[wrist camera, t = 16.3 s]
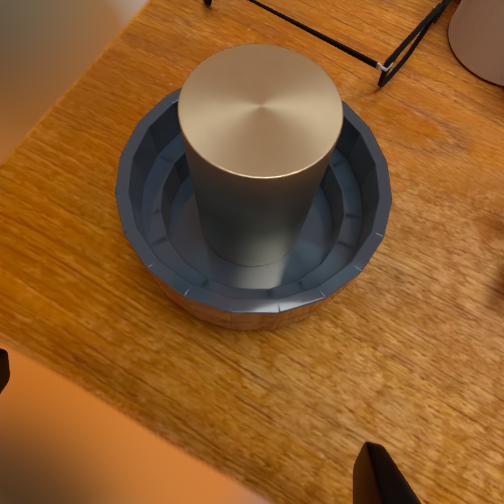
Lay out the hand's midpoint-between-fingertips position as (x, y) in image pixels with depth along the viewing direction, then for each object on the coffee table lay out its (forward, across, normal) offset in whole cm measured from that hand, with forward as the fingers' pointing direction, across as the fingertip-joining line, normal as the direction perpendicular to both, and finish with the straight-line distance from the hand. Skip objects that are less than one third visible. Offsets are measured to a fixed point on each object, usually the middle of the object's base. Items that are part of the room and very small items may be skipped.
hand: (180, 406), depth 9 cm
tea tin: (+13, 0, 0) cm, 13 cm away
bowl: (+14, 0, +1) cm, 14 cm away
